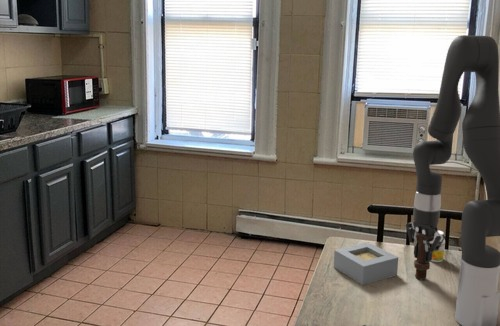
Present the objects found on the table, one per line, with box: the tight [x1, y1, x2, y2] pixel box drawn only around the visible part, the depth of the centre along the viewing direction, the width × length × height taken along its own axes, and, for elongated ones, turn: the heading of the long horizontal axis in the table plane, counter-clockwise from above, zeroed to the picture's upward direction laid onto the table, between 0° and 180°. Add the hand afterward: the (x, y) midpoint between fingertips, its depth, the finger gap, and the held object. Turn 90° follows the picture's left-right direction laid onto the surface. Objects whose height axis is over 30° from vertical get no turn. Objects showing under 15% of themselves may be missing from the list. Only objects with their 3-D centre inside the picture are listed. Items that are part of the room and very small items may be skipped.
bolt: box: [413, 232, 434, 280], centre depth 161 cm, size 6×5×15 cm
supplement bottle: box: [429, 230, 446, 263], centre depth 176 cm, size 5×5×10 cm
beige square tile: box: [354, 251, 378, 261], centre depth 167 cm, size 7×7×2 cm
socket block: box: [333, 241, 399, 286], centre depth 167 cm, size 14×14×6 cm
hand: (422, 259), depth 162 cm, fingers closed on bolt, 3 cm apart
